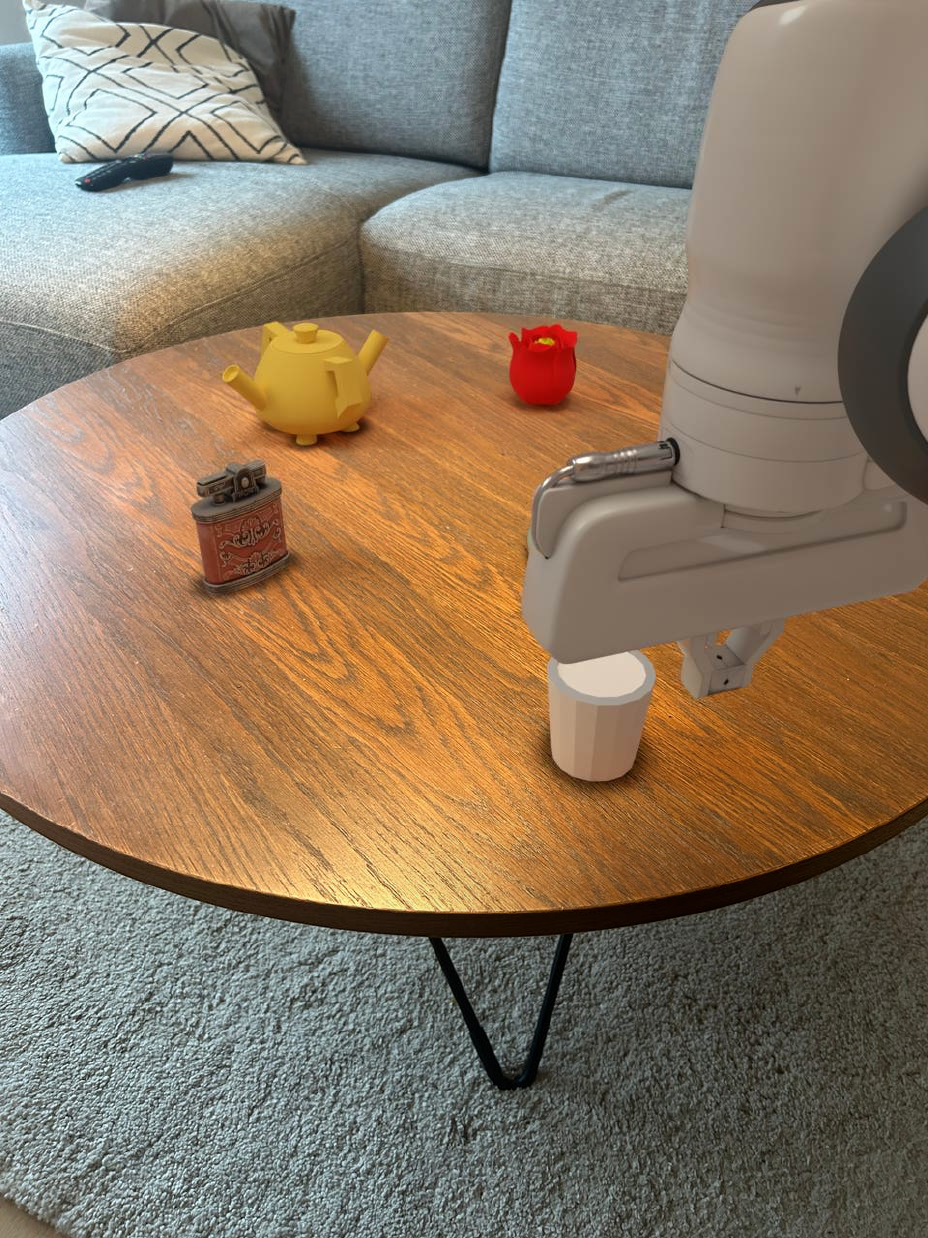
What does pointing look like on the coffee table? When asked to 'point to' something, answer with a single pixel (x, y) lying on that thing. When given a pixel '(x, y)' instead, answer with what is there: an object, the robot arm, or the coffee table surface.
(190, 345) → the coffee table surface
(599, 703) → the shot glass
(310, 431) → the teapot
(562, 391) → the flower
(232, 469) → the lighter
